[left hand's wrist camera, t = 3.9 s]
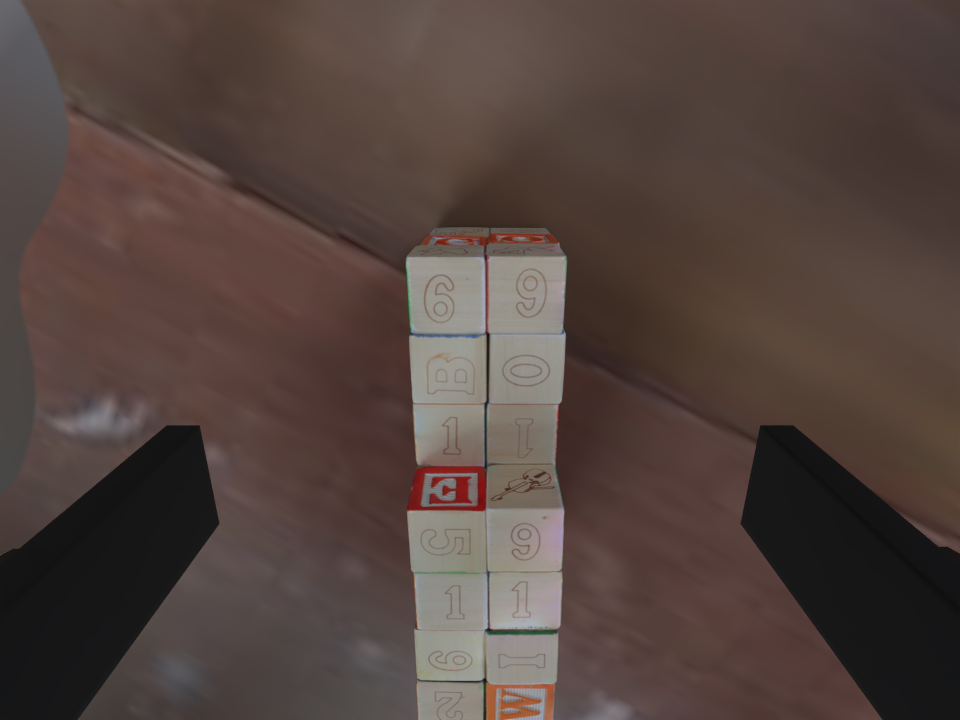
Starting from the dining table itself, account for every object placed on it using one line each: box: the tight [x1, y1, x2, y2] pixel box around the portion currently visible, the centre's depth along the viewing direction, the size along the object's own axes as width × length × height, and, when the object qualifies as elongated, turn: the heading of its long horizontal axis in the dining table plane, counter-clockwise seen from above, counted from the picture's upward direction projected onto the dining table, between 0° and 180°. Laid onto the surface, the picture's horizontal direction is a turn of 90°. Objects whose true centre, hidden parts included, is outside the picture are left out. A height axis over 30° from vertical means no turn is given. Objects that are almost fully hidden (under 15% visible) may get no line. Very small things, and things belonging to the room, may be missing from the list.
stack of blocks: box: [406, 227, 567, 720], centre depth 26 cm, size 21×6×12 cm, turn 0°
